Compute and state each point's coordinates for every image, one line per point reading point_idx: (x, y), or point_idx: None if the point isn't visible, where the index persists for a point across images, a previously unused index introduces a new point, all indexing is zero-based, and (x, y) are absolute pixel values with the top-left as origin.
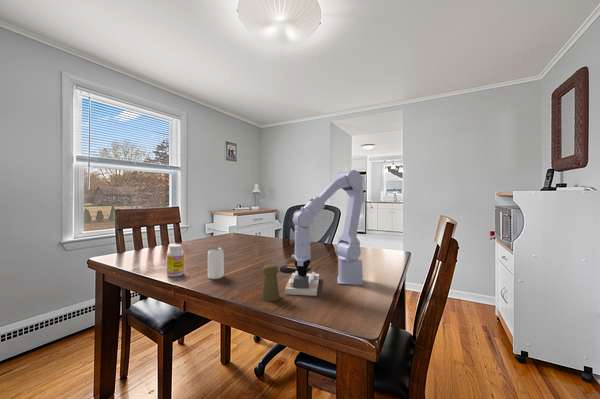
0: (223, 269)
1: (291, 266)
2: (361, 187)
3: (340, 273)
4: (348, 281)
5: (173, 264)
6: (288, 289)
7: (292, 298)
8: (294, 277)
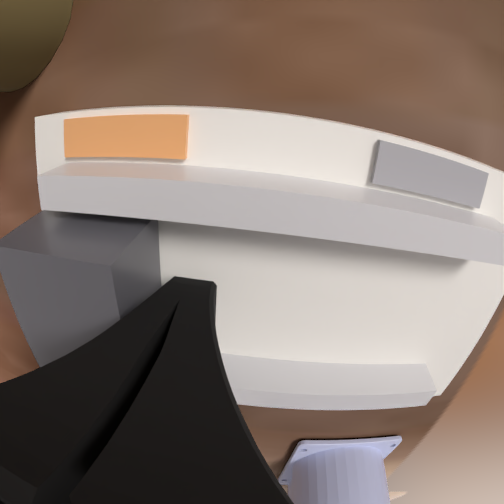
0: None
1: None
2: None
3: (323, 489)
4: (292, 471)
5: None
6: (40, 151)
7: (21, 186)
8: (30, 252)
